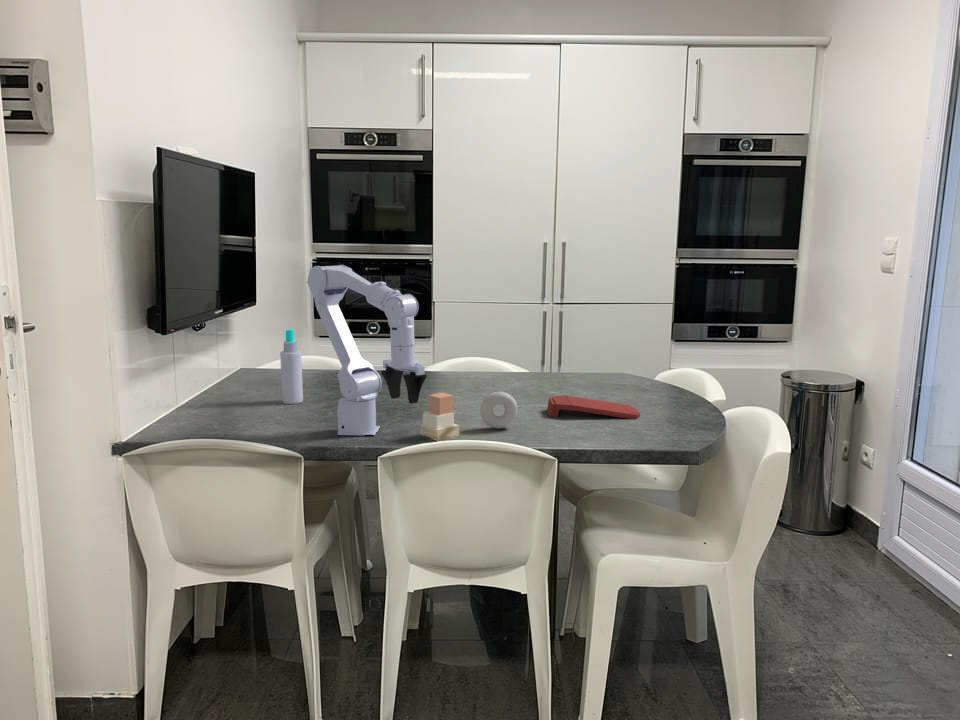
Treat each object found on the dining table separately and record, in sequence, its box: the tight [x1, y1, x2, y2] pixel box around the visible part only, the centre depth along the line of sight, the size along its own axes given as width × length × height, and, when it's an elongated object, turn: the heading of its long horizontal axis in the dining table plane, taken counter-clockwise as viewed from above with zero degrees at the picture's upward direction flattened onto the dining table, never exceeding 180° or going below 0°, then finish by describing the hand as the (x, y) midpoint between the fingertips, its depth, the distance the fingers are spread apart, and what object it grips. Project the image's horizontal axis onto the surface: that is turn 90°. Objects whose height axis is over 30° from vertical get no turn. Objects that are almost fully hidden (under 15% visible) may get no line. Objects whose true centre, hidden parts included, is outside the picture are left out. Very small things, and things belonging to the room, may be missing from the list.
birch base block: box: [419, 423, 460, 442], centre depth 185 cm, size 7×7×3 cm
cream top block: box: [422, 410, 455, 429], centre depth 184 cm, size 6×6×3 cm
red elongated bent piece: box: [546, 394, 641, 420], centre depth 208 cm, size 12×5×25 cm
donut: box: [479, 391, 519, 430], centre depth 191 cm, size 10×4×10 cm, turn 96°
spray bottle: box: [279, 328, 304, 405], centre depth 218 cm, size 6×6×22 cm
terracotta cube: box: [428, 392, 455, 415], centre depth 184 cm, size 4×4×4 cm
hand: (404, 400), depth 178 cm, fingers open, 7 cm apart
